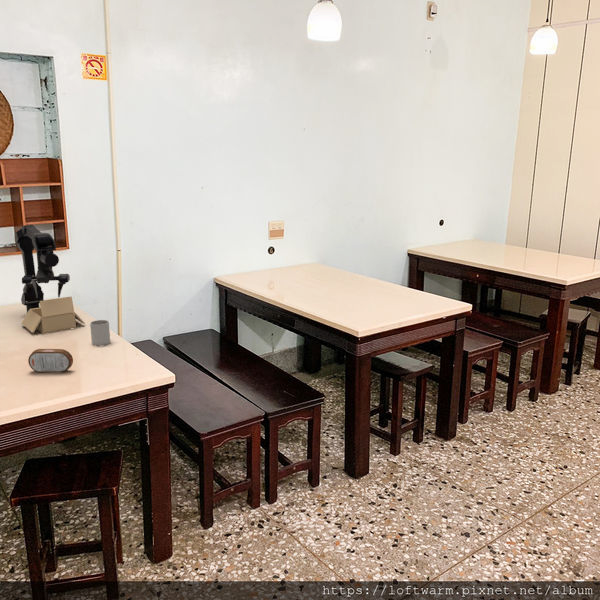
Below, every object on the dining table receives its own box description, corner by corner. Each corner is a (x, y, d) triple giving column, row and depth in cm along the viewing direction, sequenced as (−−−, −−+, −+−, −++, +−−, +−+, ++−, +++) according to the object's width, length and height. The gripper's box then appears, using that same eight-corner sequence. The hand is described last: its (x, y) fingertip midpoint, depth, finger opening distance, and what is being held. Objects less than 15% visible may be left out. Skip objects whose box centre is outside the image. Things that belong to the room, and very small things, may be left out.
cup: (95, 347, 240) (93, 326, 238) (87, 340, 248) (85, 320, 245) (112, 344, 244) (111, 323, 242) (104, 337, 252) (103, 317, 249)
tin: (74, 370, 215) (72, 348, 213) (71, 373, 212) (69, 350, 210) (32, 370, 215) (29, 348, 212) (28, 373, 212) (25, 351, 209)
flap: (42, 317, 254) (42, 317, 255) (74, 312, 262) (73, 312, 263) (39, 301, 254) (39, 301, 254) (71, 296, 262) (71, 296, 262)
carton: (18, 324, 270) (16, 308, 269) (69, 315, 284) (67, 301, 282) (32, 335, 254) (31, 319, 252) (85, 326, 267) (84, 311, 266)
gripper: (16, 267, 249) (20, 303, 253) (64, 266, 252) (67, 301, 257) (23, 261, 259) (26, 296, 263) (68, 261, 263) (71, 295, 267)
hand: (47, 297), depth 262 cm, fingers open, 9 cm apart
